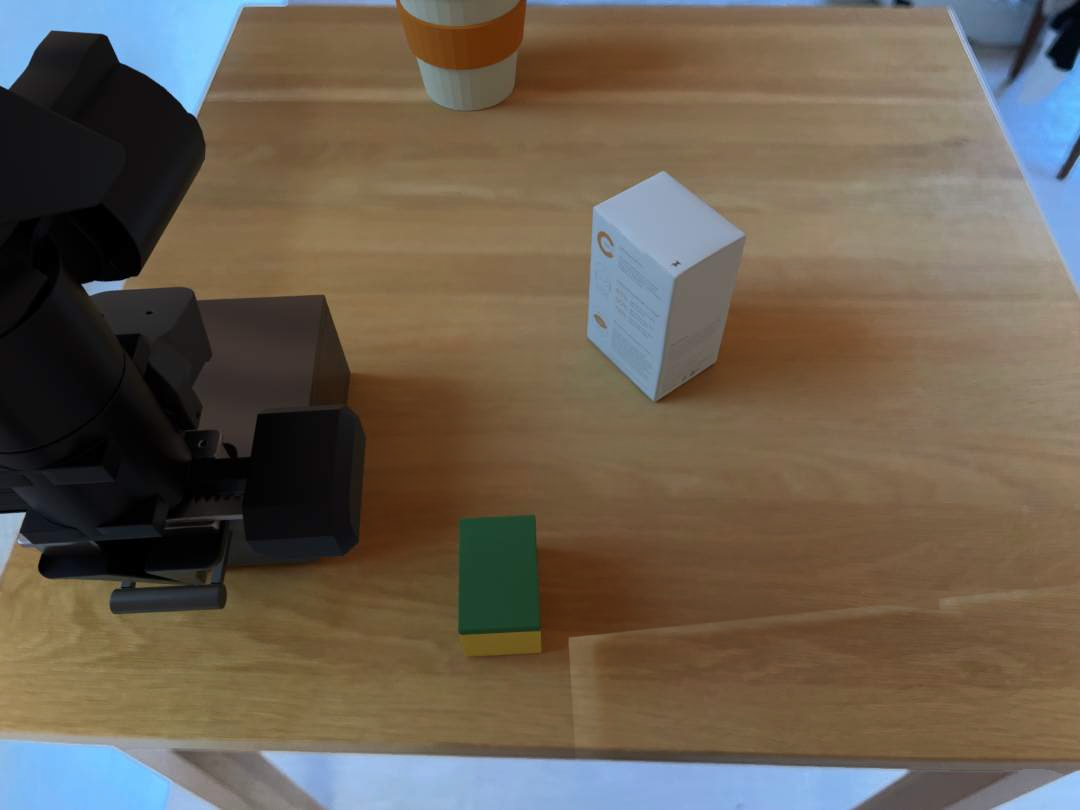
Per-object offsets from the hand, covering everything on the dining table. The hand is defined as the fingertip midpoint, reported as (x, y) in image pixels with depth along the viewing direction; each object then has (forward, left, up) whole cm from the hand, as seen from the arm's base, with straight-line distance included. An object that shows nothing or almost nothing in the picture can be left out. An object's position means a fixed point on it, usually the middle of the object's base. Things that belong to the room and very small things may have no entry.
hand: (199, 575), depth 41 cm
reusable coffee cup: (+58, +6, -12) cm, 60 cm away
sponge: (+7, -13, -12) cm, 19 cm away
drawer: (+8, +7, -11) cm, 15 cm away
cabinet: (+12, +8, -12) cm, 19 cm away
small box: (+29, -18, -12) cm, 36 cm away
